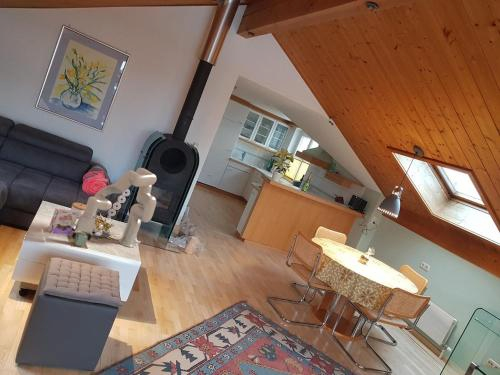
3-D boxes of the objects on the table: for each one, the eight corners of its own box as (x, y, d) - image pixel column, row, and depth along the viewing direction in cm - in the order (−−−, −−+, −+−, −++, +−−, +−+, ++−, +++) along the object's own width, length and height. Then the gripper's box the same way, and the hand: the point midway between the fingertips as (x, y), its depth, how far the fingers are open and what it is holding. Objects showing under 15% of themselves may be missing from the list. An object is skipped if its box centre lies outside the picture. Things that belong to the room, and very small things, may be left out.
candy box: (49, 233, 257) (57, 210, 255) (47, 229, 261) (55, 207, 259) (70, 235, 267) (78, 214, 265) (68, 232, 271) (76, 210, 269)
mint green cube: (82, 242, 260) (85, 233, 259) (83, 245, 256) (87, 236, 255) (74, 241, 256) (77, 232, 256) (75, 244, 252) (78, 235, 252)
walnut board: (82, 238, 271) (84, 232, 270) (87, 249, 256) (90, 243, 256) (66, 235, 264) (68, 229, 263) (70, 247, 250) (72, 240, 249)
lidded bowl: (66, 212, 306) (71, 199, 304) (82, 214, 315) (87, 201, 313) (71, 218, 297) (76, 205, 296) (87, 220, 306) (92, 207, 304)
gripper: (101, 215, 262) (92, 238, 264) (74, 210, 251) (66, 234, 253) (103, 219, 256) (95, 243, 258) (76, 214, 245) (67, 239, 247)
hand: (80, 238), depth 256 cm, fingers open, 9 cm apart
